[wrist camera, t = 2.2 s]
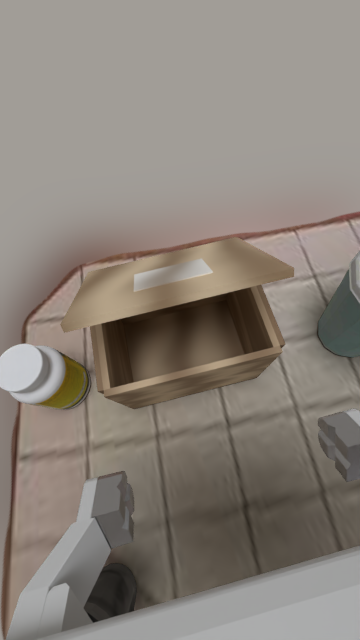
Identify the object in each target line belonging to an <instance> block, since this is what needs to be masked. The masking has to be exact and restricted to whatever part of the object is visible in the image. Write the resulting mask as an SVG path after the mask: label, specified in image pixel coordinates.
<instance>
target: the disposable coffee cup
mask: <svg viewBox="0 0 360 640" xmlns="http://www.w3.org/2000/svg"><path fill="white" fill-rule="evenodd" d="M318 336H319V338H320V340H321V341H322V343H323V345H324V347H326V348H327V349H329V350H330V351H332V352H333V353H334V354H336V355H341V356H347V357H357V356H360V251H359V252H358V253H357V255H356V256H355V257H354V258H353V260H352V261H351V262H350V263H349V270H348V271H347V273H346V275H345V277H344V278H343V280H342V282H341V284H340V285H339V287H338V289H337V291H336V292H335V294H334V296H333V297H332V299H331V301H330V303H329V304H328V306H327V308H326V310H325V311H324V313H323V315H322V317H321V318H320V320H319V324H318Z"/></svg>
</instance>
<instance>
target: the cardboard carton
mask: <svg viewBox="0 0 360 640" xmlns="http://www.w3.org/2000/svg"><path fill="white" fill-rule="evenodd" d="M90 330H91V339H92V347H93V355H94V364H95V372H96V380H97V389H98V392H100V393H102V394H104V397H106V398H108V399H111V400H113V401H115V402H118V403H120V404H123V405H125V406H128V407H130V408H133V409H136V408H140V407H144V406H148V405H152V404H156V403H160V402H164V401H168V400H172V399H176V398H179V397H183V396H187V395H191V394H195V393H199V392H203V391H207V390H211V389H215V388H219V387H222V386H226V385H230V384H234V383H238V382H242V381H246V380H250V379H254V378H257V377H258V376H259V375H260V374H261V373H262V372H263V371H264V370H265V369H266V368H267V367H268V366H269V365H270V364H271V363H272V362H273V361H274V360H275V359H276V358H277V357H278V356H279V355H280V354H281V353H282V349H281V348H282V347H283V346H284V345H285V342H284V339H283V337H282V335H281V332H280V330H279V327H278V325H277V322H276V320H275V317H274V315H273V313H272V310H271V308H270V305H269V303H268V300H267V298H266V295H265V293H264V291H263V288H262V286H261V285H257V286H253V287H249V288H245V289H241V290H237V291H233V292H228V293H224V294H220V295H216V296H212V297H208V298H204V299H200V300H196V301H192V302H187V303H183V304H179V305H175V306H171V307H167V308H163V309H159V310H155V311H151V312H147V313H142V314H138V315H134V316H130V317H126V318H122V319H118V320H114V321H110V322H106V323H101V324H97V325H93V326H90Z"/></svg>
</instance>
